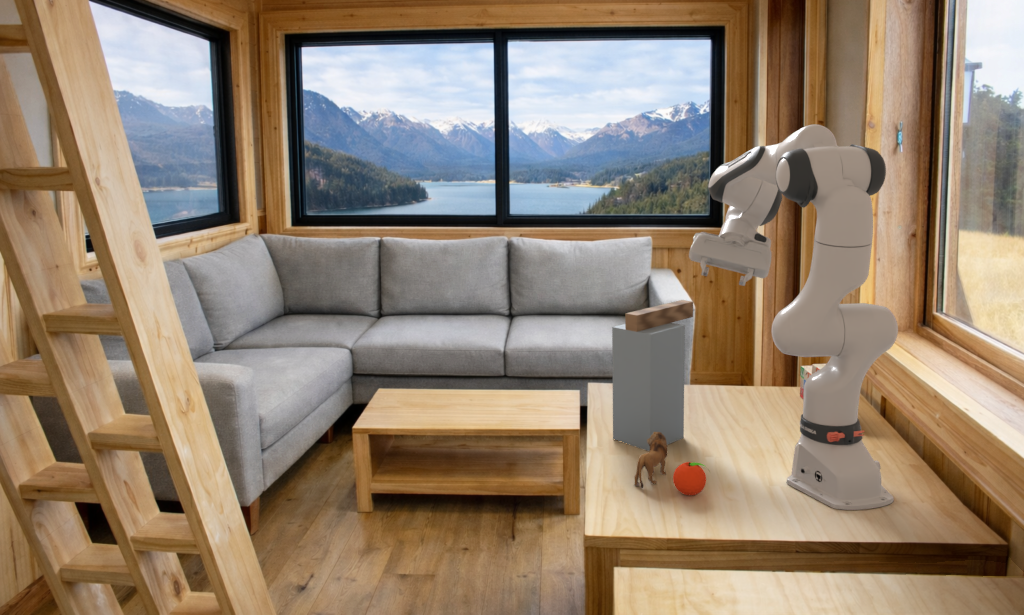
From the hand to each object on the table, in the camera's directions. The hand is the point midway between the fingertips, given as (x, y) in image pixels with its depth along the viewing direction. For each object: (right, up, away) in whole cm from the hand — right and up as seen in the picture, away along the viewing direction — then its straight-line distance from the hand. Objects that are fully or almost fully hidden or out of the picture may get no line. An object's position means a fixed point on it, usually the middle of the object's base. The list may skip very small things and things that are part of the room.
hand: (723, 279), depth 210 cm
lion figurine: (-22, -45, -21) cm, 54 cm away
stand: (-18, -40, +2) cm, 44 cm away
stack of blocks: (+33, -35, +22) cm, 53 cm away
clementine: (-14, -47, -31) cm, 58 cm away
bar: (-16, -11, -1) cm, 19 cm away
